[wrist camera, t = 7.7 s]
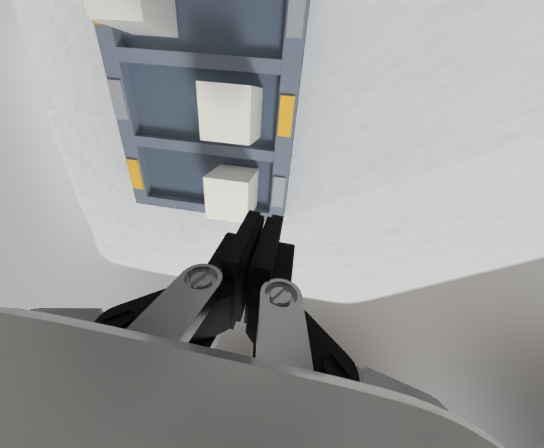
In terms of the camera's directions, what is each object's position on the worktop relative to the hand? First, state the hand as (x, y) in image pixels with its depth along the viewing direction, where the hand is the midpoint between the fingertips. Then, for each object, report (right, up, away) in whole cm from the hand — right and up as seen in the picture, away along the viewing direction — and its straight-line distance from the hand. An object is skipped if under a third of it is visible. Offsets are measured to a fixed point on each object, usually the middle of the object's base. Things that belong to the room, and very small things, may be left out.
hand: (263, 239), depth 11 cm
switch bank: (-6, +13, +12) cm, 18 cm away
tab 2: (-3, +11, +9) cm, 15 cm away
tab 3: (-3, +5, +13) cm, 14 cm away
